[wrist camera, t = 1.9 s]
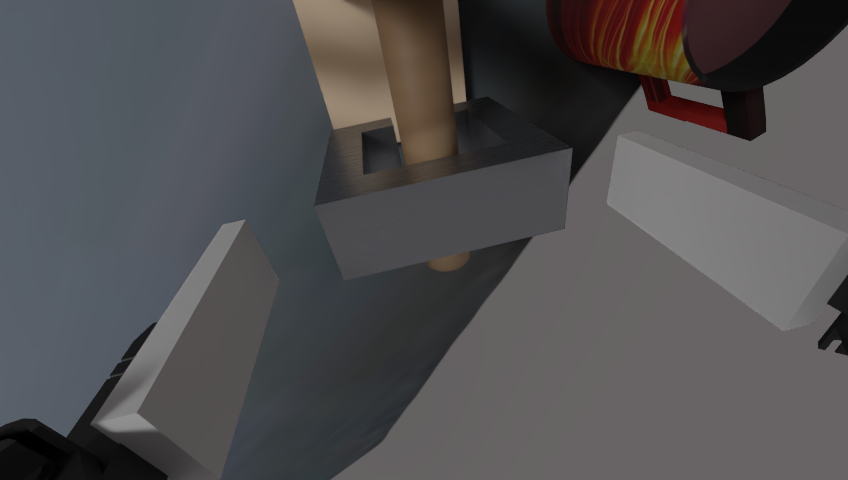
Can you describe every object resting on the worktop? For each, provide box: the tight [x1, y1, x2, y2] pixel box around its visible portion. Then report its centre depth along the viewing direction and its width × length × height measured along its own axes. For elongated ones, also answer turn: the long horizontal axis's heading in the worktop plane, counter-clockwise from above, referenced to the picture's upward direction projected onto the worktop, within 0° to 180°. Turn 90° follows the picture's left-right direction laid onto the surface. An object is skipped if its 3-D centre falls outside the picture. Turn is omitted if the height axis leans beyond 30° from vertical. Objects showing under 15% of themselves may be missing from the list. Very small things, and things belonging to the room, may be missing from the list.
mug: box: [546, 0, 848, 141], centre depth 19 cm, size 10×14×12 cm
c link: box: [314, 97, 573, 281], centre depth 14 cm, size 8×3×8 cm, turn 100°
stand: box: [293, 0, 470, 271], centre depth 15 cm, size 13×10×20 cm
